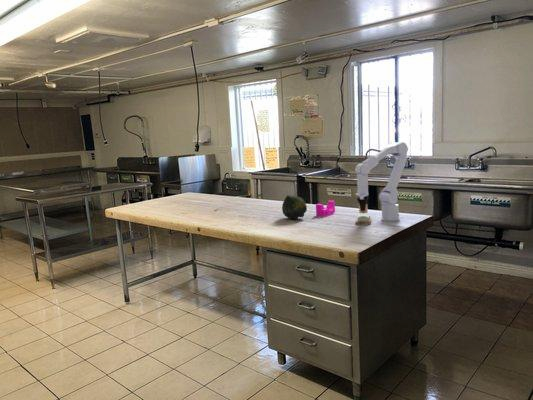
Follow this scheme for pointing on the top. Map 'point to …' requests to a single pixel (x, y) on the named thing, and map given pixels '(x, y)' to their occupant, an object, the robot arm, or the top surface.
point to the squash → (294, 207)
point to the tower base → (363, 222)
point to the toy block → (325, 209)
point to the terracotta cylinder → (363, 211)
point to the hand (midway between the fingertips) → (363, 209)
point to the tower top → (363, 217)
